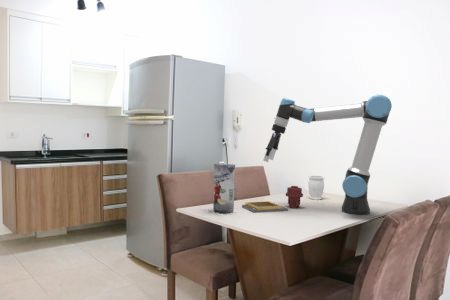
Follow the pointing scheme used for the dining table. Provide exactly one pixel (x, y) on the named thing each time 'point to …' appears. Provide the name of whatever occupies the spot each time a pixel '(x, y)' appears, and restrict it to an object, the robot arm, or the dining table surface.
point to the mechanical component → (294, 196)
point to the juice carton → (224, 187)
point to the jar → (316, 187)
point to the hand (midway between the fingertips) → (268, 160)
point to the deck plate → (263, 207)
